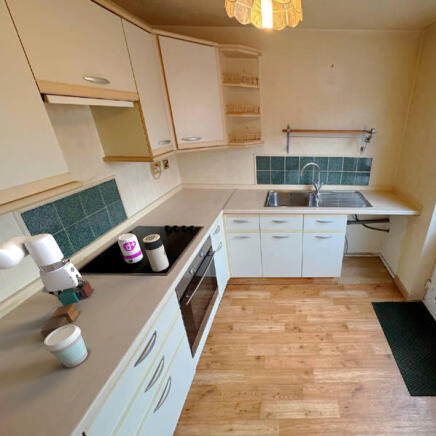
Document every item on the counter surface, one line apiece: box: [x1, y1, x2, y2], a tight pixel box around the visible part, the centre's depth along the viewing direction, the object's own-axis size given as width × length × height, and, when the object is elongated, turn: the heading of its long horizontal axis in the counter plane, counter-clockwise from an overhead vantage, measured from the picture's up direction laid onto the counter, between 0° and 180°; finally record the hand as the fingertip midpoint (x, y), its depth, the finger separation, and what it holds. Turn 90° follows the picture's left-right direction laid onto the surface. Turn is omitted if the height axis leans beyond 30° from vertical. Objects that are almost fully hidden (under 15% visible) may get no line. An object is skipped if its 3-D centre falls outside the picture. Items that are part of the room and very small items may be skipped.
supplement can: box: [117, 232, 144, 264], centre depth 125 cm, size 8×8×15 cm
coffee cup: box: [43, 324, 89, 368], centre depth 74 cm, size 8×9×12 cm
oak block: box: [51, 303, 80, 324], centre depth 90 cm, size 5×5×5 cm
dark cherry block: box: [79, 281, 93, 300], centre depth 102 cm, size 5×5×5 cm
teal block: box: [57, 287, 80, 306], centre depth 95 cm, size 5×5×5 cm
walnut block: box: [40, 317, 71, 340], centre depth 84 cm, size 5×5×5 cm
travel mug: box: [142, 233, 170, 272], centre depth 117 cm, size 8×8×18 cm
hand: (73, 299), depth 96 cm, fingers closed on teal block, 5 cm apart
